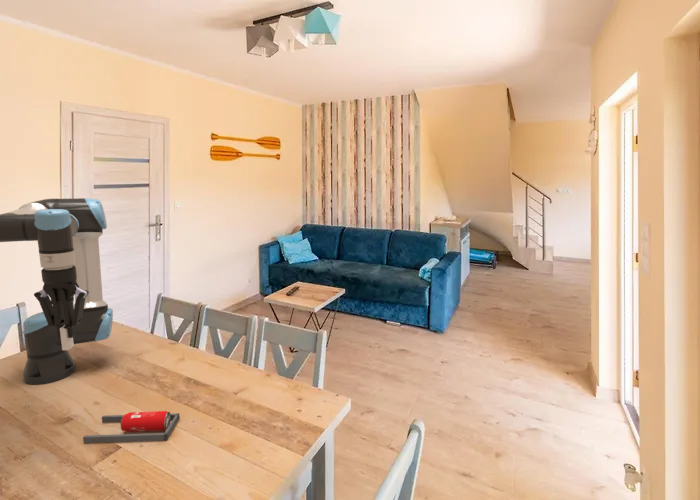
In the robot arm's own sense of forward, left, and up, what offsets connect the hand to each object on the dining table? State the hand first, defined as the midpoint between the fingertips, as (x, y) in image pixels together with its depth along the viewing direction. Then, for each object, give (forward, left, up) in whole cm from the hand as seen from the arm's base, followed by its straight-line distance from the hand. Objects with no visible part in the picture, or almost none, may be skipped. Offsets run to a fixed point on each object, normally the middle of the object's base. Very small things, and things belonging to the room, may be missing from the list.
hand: (68, 348), depth 108 cm
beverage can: (+12, +9, -22) cm, 26 cm away
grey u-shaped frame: (+14, +11, -24) cm, 30 cm away
